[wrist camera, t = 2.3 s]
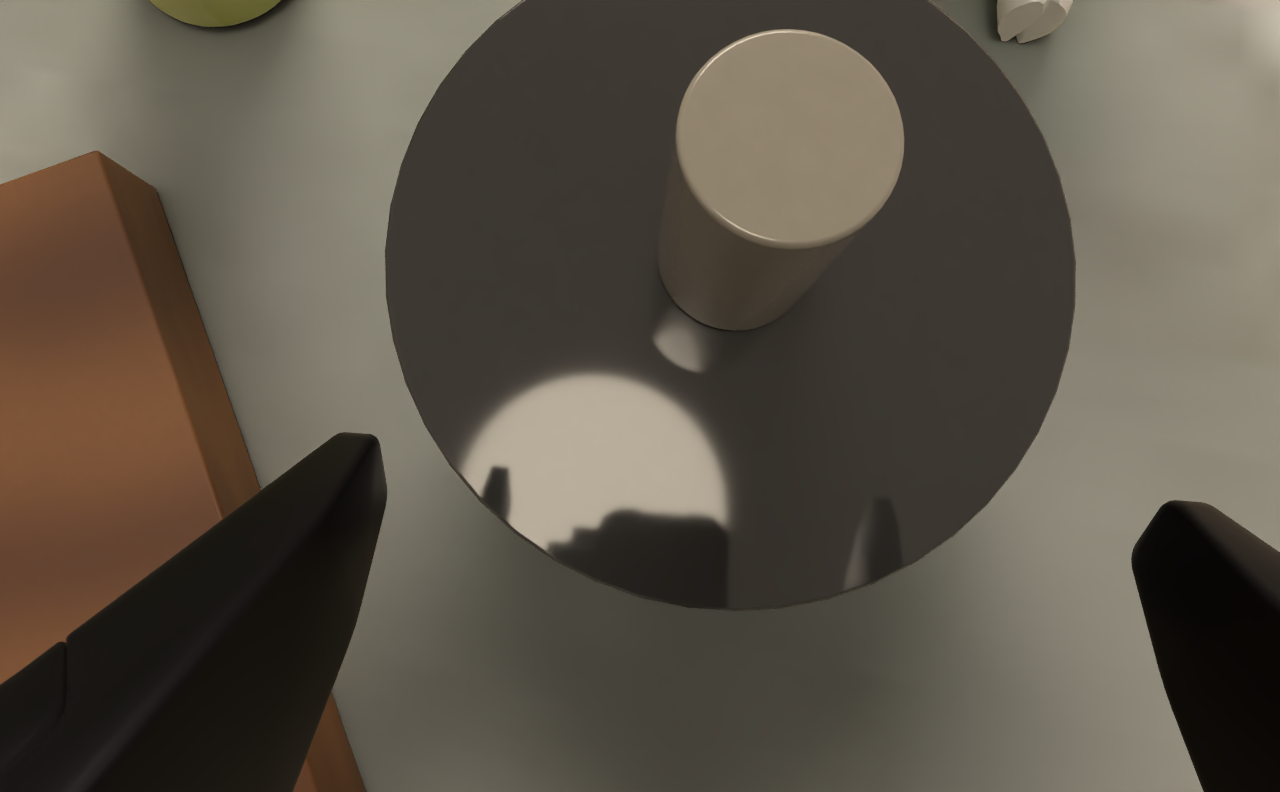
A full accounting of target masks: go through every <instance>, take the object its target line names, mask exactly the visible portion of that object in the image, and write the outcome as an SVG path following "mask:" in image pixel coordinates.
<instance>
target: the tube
mask: <svg viewBox="0 0 1280 792" xmlns="http://www.w3.org/2000/svg"><path fill="white" fill-rule="evenodd" d="M149 1H150V2H151V3H152V4H154V5H155V6H156V7H157V8H159V9H160V10H162V11H163V12H164V13H166V14H168V15H170V16H172V17H174V18H176V19H178V20H180V21H182V22H186V23H189V24H193V25H198V26H205V27H220V26H231V25H236V24H239V23H242V22H245V21H248V20H251V19H253V18H256V17H258V16H260V15H262V14H264V13H266V12H267V11H268V10H270V9H271V8H273V7H274V6H275V5H277V4H278V3H279V2H280V1H281V0H149Z"/></svg>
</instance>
